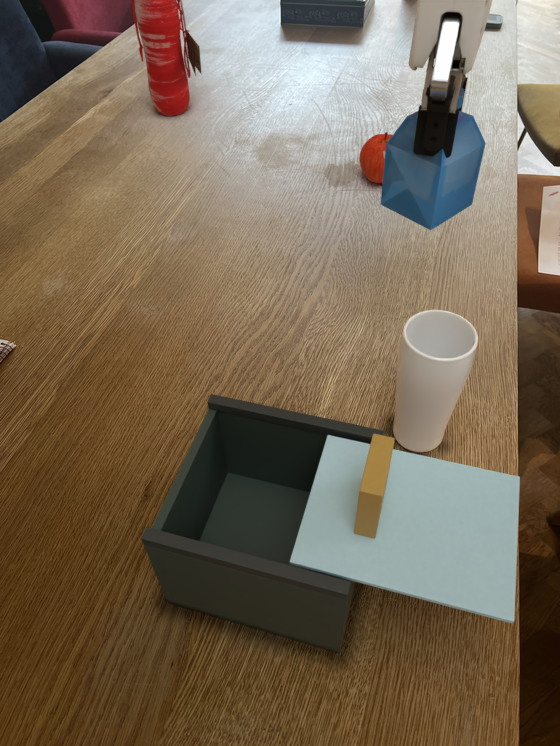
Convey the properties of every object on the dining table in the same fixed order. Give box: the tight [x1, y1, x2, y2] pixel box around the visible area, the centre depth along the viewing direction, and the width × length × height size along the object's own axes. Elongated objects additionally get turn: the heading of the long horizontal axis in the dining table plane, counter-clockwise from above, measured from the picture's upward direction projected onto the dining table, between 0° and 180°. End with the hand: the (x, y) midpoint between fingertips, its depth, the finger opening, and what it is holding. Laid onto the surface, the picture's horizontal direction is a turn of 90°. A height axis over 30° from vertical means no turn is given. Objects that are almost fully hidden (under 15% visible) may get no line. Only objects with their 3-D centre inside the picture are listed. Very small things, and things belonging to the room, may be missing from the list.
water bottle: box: [130, 0, 202, 117], centre depth 111 cm, size 12×8×25 cm, turn 82°
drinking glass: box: [392, 309, 479, 453], centre depth 60 cm, size 7×7×15 cm
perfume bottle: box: [380, 74, 486, 231], centre depth 55 cm, size 6×6×12 cm
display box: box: [140, 393, 385, 654], centre depth 53 cm, size 16×15×12 cm
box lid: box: [290, 434, 521, 624], centre depth 44 cm, size 16×12×6 cm
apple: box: [358, 131, 393, 184], centre depth 98 cm, size 8×8×8 cm
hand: (437, 135), depth 54 cm, fingers closed on perfume bottle, 5 cm apart
